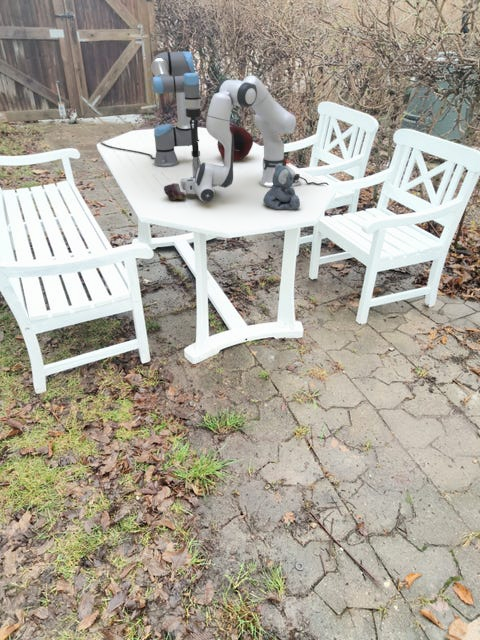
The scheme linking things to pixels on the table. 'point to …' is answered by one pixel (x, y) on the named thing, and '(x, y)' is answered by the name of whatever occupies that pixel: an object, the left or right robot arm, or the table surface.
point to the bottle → (195, 165)
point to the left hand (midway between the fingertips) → (195, 155)
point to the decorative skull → (238, 143)
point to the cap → (198, 153)
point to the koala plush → (282, 190)
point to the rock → (174, 191)
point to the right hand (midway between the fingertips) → (196, 178)
